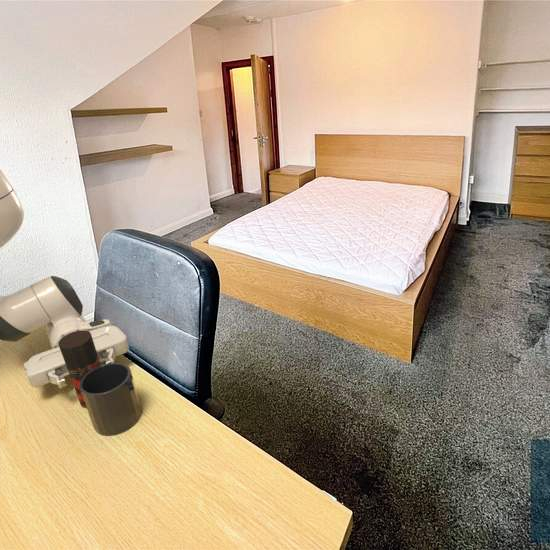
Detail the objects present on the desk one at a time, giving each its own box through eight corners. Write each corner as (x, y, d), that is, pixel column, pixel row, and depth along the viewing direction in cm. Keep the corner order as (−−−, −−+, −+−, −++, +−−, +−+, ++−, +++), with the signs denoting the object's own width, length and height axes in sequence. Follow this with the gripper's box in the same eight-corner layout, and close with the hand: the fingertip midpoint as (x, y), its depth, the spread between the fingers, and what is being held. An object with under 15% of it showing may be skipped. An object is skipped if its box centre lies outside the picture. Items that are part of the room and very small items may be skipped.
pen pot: (83, 428, 78) (68, 388, 74) (117, 396, 86) (105, 358, 81) (118, 441, 75) (105, 400, 71) (151, 407, 82) (140, 368, 78)
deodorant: (75, 398, 86) (54, 339, 80) (103, 384, 90) (85, 326, 83) (85, 412, 82) (63, 352, 76) (114, 397, 86) (95, 338, 79)
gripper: (17, 350, 87) (24, 384, 77) (114, 316, 97) (132, 343, 87) (27, 373, 90) (35, 409, 80) (120, 338, 100) (138, 366, 90)
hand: (87, 374), depth 83 cm, fingers open, 8 cm apart
